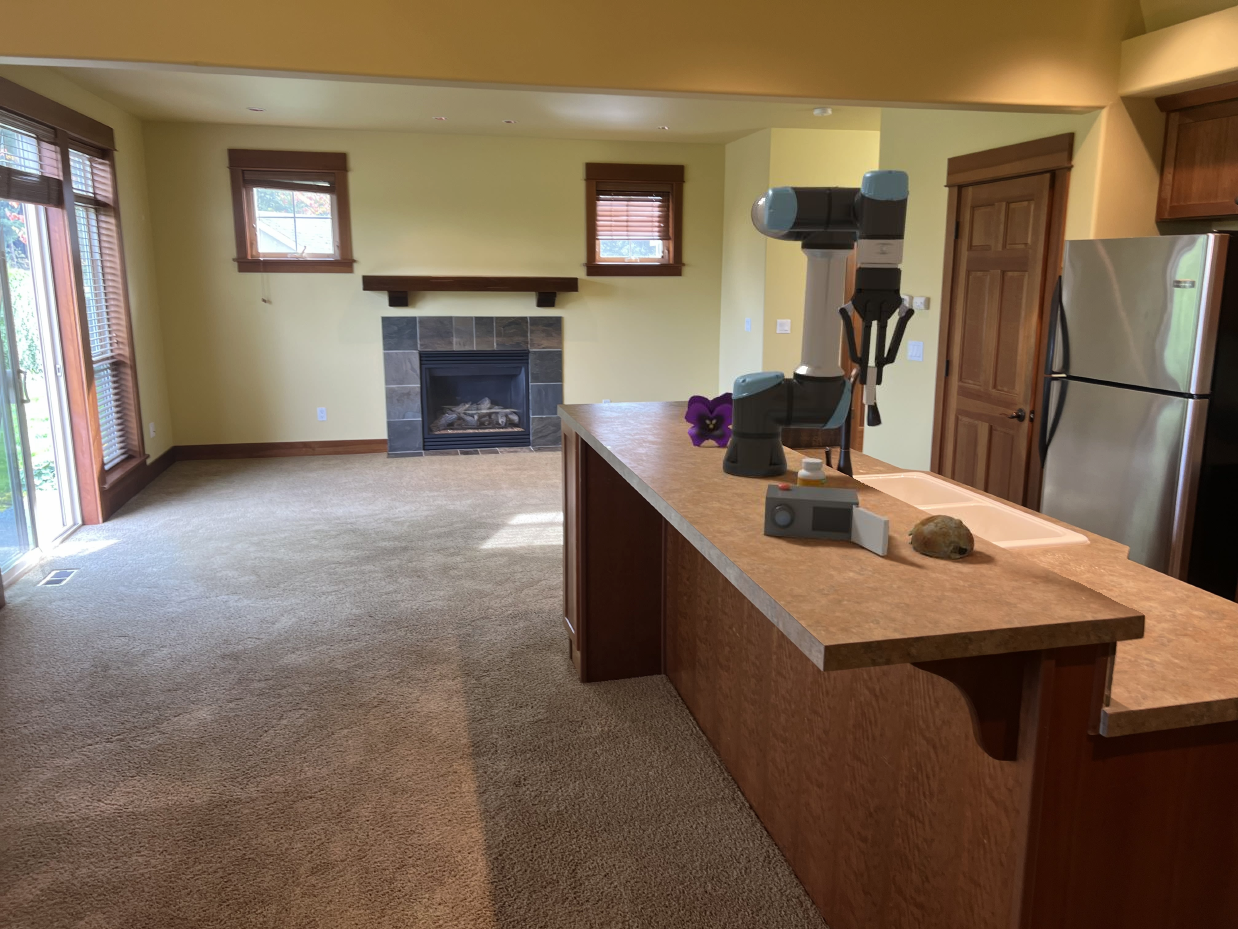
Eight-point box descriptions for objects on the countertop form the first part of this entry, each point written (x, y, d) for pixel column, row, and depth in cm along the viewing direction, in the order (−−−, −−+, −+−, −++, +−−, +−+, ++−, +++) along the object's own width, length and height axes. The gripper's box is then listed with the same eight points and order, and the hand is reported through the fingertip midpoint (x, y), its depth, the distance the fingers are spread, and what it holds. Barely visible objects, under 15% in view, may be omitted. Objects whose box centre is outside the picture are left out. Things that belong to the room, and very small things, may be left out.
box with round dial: (766, 520, 169) (768, 480, 167) (853, 526, 165) (856, 485, 164) (763, 537, 157) (765, 494, 156) (856, 543, 154) (859, 500, 153)
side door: (881, 556, 146) (884, 519, 145) (849, 540, 155) (851, 505, 154) (889, 555, 147) (892, 518, 146) (857, 539, 156) (859, 504, 154)
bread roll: (930, 580, 147) (950, 544, 143) (891, 540, 154) (909, 504, 150) (972, 572, 152) (993, 536, 147) (933, 533, 159) (951, 498, 154)
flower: (685, 457, 253) (682, 443, 240) (689, 407, 257) (685, 391, 244) (737, 459, 250) (736, 445, 238) (740, 409, 255) (739, 392, 242)
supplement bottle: (823, 511, 175) (826, 463, 173) (796, 510, 176) (798, 462, 174) (823, 505, 180) (826, 458, 178) (796, 503, 182) (798, 456, 180)
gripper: (843, 266, 148) (833, 406, 153) (923, 266, 147) (911, 408, 152) (836, 265, 155) (828, 399, 161) (913, 266, 154) (901, 401, 159)
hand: (868, 403), depth 156 cm, fingers closed
